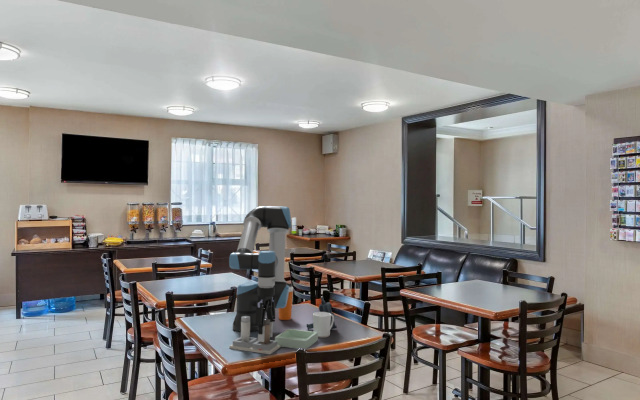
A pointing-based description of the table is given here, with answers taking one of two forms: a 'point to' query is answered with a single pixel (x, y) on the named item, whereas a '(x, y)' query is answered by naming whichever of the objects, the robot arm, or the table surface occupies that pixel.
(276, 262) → the robot arm
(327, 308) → the gun
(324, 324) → the mug
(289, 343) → the parts tray
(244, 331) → the fuse
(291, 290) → the shaker bottle
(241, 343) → the panel
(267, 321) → the fuse
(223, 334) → the table surface
